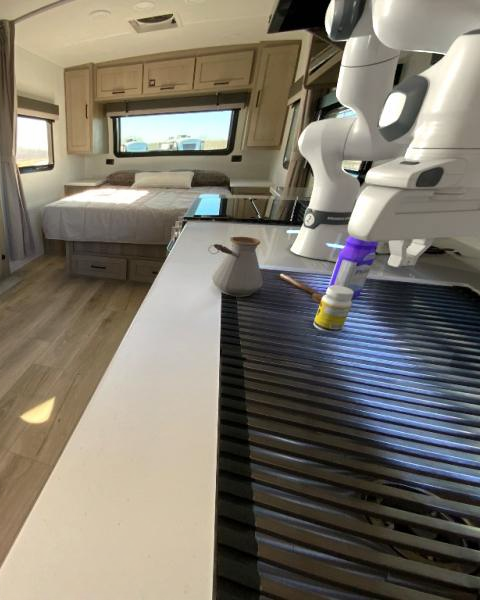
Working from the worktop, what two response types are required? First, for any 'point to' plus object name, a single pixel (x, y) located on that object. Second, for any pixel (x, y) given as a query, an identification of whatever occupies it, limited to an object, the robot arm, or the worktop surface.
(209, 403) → the worktop surface
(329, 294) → the supplement bottle
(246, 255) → the coffee pot
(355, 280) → the bottle
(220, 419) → the worktop surface
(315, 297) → the wooden spoon
